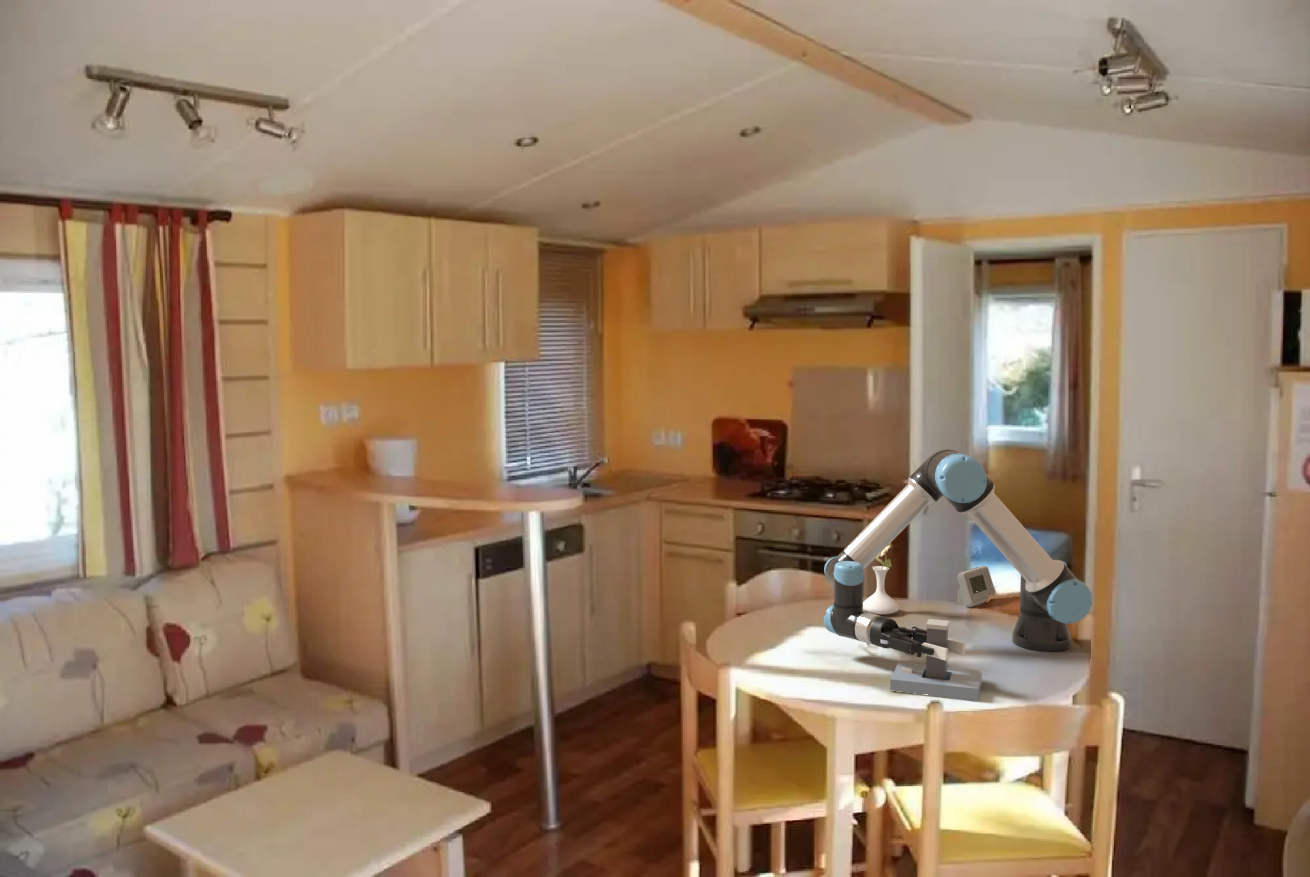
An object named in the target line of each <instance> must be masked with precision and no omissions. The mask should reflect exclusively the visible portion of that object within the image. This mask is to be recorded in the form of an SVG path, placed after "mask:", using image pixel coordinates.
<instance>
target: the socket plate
mask: <svg viewBox="0 0 1310 877" xmlns="http://www.w3.org/2000/svg"><path fill="white" fill-rule="evenodd" d="M889 680H890V686H889V689H890V690H895V691H902V692H909V693H916V694H915V695H917V694H928V695H933V696H932V697H934V696H936V698H944V699H945V698H946V699H951V700H952V699H955V700H960V701H961V700H963V701H971V702H972V701H973V702H979V698H980V694H981V688H982V683H983V670H981V669H979V670H978V669H970V668H961V667H951V666H947V679H946V680H940V679H930V678H926V664H920V663H911V662H910V663H909V662H902V661H898V663H897V665H896V667H895V669H894V671H893V673H892V675H891V678H890V679H889ZM890 690H889V691H890Z"/></svg>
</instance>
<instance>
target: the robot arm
mask: <svg viewBox="0 0 1310 877" xmlns="http://www.w3.org/2000/svg"><path fill="white" fill-rule="evenodd" d="M907 481H908V483H907V484H906V486H905V487H904V488H903V489H901V491H900V492H899V493H897V495H896V496H895V497H894V498H893V499H892V500H891V501H890V502H889V503H888V504H887V505H886V506H885V507H884V508H883V509H882V511H880V512H879V513H878V514H877V516H875V518H873V520H872V521H870V523H869V524H867V526H866V527H864V529H863V530H862V531H861V532H860V533H859V534H858V535H857V536H855V538H854V539H853V540H852V541H851V542H850V543H849V544H848V545H847V546H846V547H845V548H844V549H843V550H842V551H840V553H839V554H838V555H837V556H833V557H831V558H829V559H828V560H827V561H826V563H825V564H824V569H823V570H824V571H823V572H824V576H825V579H826V580H827V582H828V583H829V585H831V587H832V588H833V604H832V605H830V606H828V607H827V609H826V610H825V615H824V616H823V624H824V627H825V629H826V630H827V631H828V632H830V633H832V634H835V635H836V636H838V637H841V638H842V637H844V638H847V639H848V638H849V639H851V640H856V641H858V642H862V643H866V645H867V646H870V645H872V646H873V645H874V646H876V647H880V648H883V649H892V650H895V651H897V652H898V651H899V652H902V653H905V654H906V655H911V656H914V655H915V654H916V657H917V658H922V655H925V656H926V655H928V656H931V657H935V658H938V659H942V660H945V661H946V660H947V661H948V658H949V652H951V653H954V654H957V655H963V656H964V655H966V643H965V642H962V641H959V640H954V639H951V638H948V649H947V648H943V647H940V646H936V645H932V644H929V643H927V629H923V628H920V627H917V626H912V627H911V628H907V627H904V626H899V625H898V623H897V622H896V620H895V619H893V618H890V617H886V616H881V615H880V614H873V613H869V612H867V611H864V610H863V602H864V584H865V583H864V580H865V575H864V570H865V569H866V568H867V567H868V566H869V565H870V564H872V562H873V561H874V560H876V559H875V558H876V557H877V556H878V555H879V554H880V553H881V552H882V551H883V550H884V549H885V548H886V547H887V546H888V545H889V544H890V543H892V541H894V540H896V538H897V537H898V536H899V535H900V534H901V533H902V532H903V531H904V530H905V529H906V528H907V527H908V526H909V525H910V524H911V523H912V521H914V520H915V519H916V518H917V517H918V515H919V514H921V513H922V511H923V510H924V509H925V508H926V507H927V506H928V505H930V504H936V503H937V502H938V501H939V499H941V498H942V497H944V499H946V501H947V502H948V503H949V504H950V505H951V506H952V508H953V509H955V511H956V512H957V513H958V514H965V515H968V517H970V519H971V520H972V521H973V522H974V524H975V525H976V526H977V527H978V528H979V530H981V531H982V533H983V534H984V535H985V536H986V537H987V539H989V540H990V541H991V543H992V544H993V545H994V546H995V547H996V549H997V550H999V552H1000V553H1001V554H1002V555H1003V556H1004V558H1006V560H1007V561H1008V562H1009V563H1010V564H1011V566H1013V568H1014V569H1015V570H1016V571H1017V572H1018V574H1020V592H1019V594H1020V595H1019V615H1018V618H1017V620H1016V623H1015V626H1014V628H1013V631H1012V639H1011V640H1012V643H1013V644H1014V643H1015V644H1014V645H1016V646H1018V647H1021V648H1024V647H1025V648H1024V649H1028V650H1033V651H1042V652H1057V651H1058V652H1059V651H1066V650H1068V649H1070V648H1071V647H1072V635H1071V633H1070V629H1069V626H1068V624H1075V623H1077V622H1081V620H1083V619H1084V618H1085V617H1086V616H1087V615H1088V614H1089V612H1090V611H1091V609H1092V606H1093V595H1092V592H1091V589H1090V588H1089V587H1088V585H1087V584H1086V583H1085V582H1084V581H1081V580H1080V579H1078V578H1077V577H1076V576H1075V575H1074V573H1073V572H1072V571H1071V570H1070V569H1069V567H1068V566H1067V563H1066V561H1064V560H1059V559H1053V558H1051V557H1050V555H1049V554H1048V553H1047V552H1046V551H1045V549H1044V548H1043V547H1042V546H1041V545H1040V544H1039V543H1038V542H1037V540H1036V539H1035V538H1034V537H1033V536H1032V535H1031V534H1030V532H1029V531H1028V530H1027V529H1026V528H1025V527H1024V525H1023V524H1022V522H1020V520H1018V518H1016V516H1015V515H1014V514H1013V513H1012V512H1011V511H1010V509H1009V508H1008V507H1007V506H1006V505H1005V504H1004V503H1003V501H1002V500H1001V499H1000V498H999V496H997V494H995V483H994V482H993V481H992V480H991V478H990V477H989V476H988V475H987V473H986V470H985V468H984V466H983V464H981V463H980V461H978V459H976V458H975V457H973V456H972V455H971V456H970V455H968V454H966V453H964V454H963V453H961V452H959V451H957V450H954V449H948V448H947V449H941V450H938V451H935V452H934V453H932V454H931V455H930V456H929V457H927V459H925V460H924V461H923V462H922V463H921V465H920V466H919V467H917V468H916V469H915V471H914V472H913V473H912V474H911V475H910V476H909V477H908V480H907ZM890 545H891V544H890Z"/></svg>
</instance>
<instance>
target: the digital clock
mask: <svg viewBox="0 0 1310 877" xmlns="http://www.w3.org/2000/svg"><path fill="white" fill-rule="evenodd" d="M989 569H990V568H989V567H988V566H986V565H981V566H976V567H972V568H970V569H966V570H964V571H961V572H959V573H958V574H957V575H956V576H957V581H958V584H959V588H958V589H957V603H958V604H961V605H965V606H966V607H967V608H973V607H978V606H981V605H984V604H985V603H984V602H986V601H987V599H988V595H991V594H992V595H993V594H994V593H996V592H997V591H996V590H995V585H994V583H993V579H992V577H991V572H990V570H989ZM976 591H978V592H976ZM996 594H997V593H996Z"/></svg>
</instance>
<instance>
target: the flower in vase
mask: <svg viewBox="0 0 1310 877" xmlns="http://www.w3.org/2000/svg"><path fill="white" fill-rule="evenodd" d="M891 543H892V542H891ZM891 543H890V544H889V545H888V546H887V547H886V548H885V549H884V550H883V551H882V552H881V553H880V554H879V555H878V556H877V557H876V558H875V559H874V560H876V561H878V562H879V563H880V564H882V565H876V566H872V570H873V571H874V574H875V577H876V590H875V592H874V593H873V594H871V595H870V596H868V598H866V599H865V600H863V612H867V613H871V614H875V615H891V614H894V613H896V612H898V611H899V610H900V606H899V604H898V603H897V601H895V600H894V598H892V597H891V596H890V595H889V594H888V593H887V592H886V590H885V581H886V580H885V579H886V575H887V574H888V571H889V570H890V568H892V567H893V566H892V561H891V559H890V558H889V559H888V558H887V553H888V551H889V549H890V548H891V545H892V544H891ZM883 556H884V557H885V558H884V559H885V560H884V561H883V560H882V559H881V558H879V557H883Z"/></svg>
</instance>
